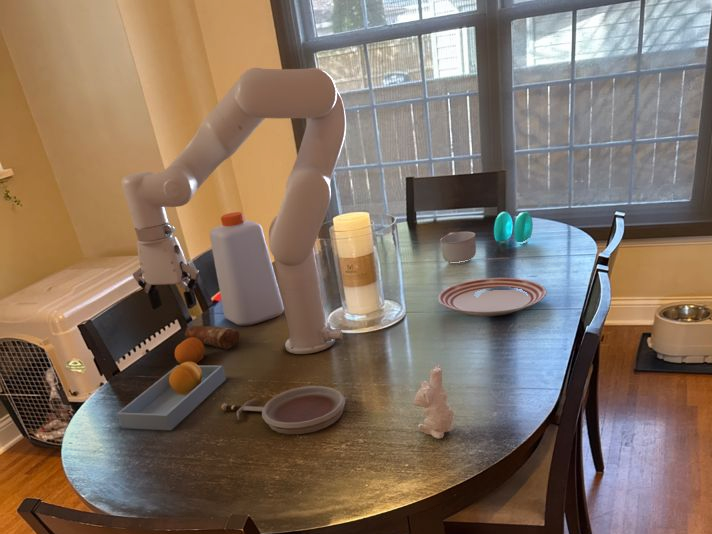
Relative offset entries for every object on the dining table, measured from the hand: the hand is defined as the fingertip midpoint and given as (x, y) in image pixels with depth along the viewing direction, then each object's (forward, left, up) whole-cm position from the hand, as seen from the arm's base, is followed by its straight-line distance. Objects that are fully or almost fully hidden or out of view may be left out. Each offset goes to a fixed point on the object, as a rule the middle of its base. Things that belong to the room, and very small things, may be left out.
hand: (174, 307), depth 159 cm
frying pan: (-36, +23, -15) cm, 45 cm away
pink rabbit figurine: (-70, +28, -15) cm, 77 cm away
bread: (+1, -13, -15) cm, 20 cm away
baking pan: (-8, +20, -15) cm, 26 cm away
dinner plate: (-68, -39, -15) cm, 80 cm away
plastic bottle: (-1, -34, -15) cm, 37 cm away
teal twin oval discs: (-67, -96, -15) cm, 117 cm away
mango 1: (0, -2, -15) cm, 15 cm away
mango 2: (-8, +14, -14) cm, 22 cm away
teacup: (-51, -80, -15) cm, 96 cm away
